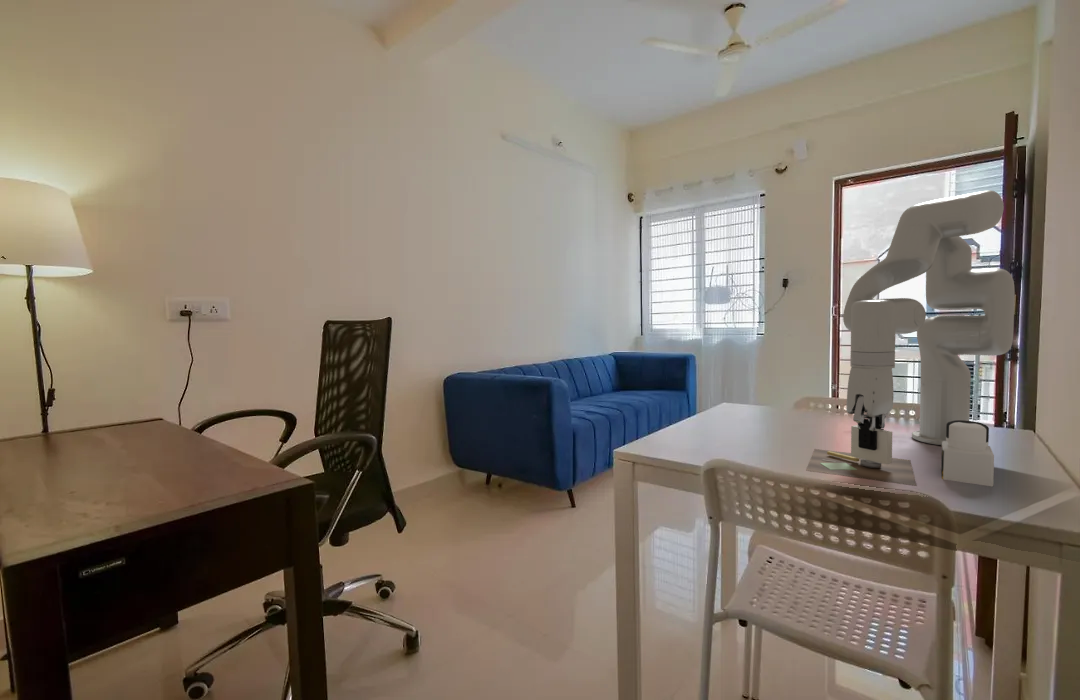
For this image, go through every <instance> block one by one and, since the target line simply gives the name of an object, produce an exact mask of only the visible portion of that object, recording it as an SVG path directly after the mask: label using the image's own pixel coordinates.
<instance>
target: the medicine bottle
mask: <svg viewBox="0 0 1080 700" xmlns="http://www.w3.org/2000/svg"><path fill="white" fill-rule="evenodd" d="M989 438H990V427H989V426H988V425H986V424H984V423H982V422H979V421H973V420H969V421H965V420H955V421H951V422H948V423H947V424H946V441H943V442H942V445H941V454H940V455H941V459H940V461H941V462H940V463H941V464H940V466H941V467H940V471H941V472H940V473H941V479H942V480H945V481H952V482H959V483H967V484H973V485H978V486H979V485H980V486H985V487H993V486H994V473H995V472H994V471H995V454H994V453H993V450H992V448H991V446H990V445H989V444H990V443H989Z"/></svg>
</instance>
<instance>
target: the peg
mask: <svg viewBox="0 0 1080 700" xmlns="http://www.w3.org/2000/svg"><path fill="white" fill-rule="evenodd" d="M850 429H851V430H850V437H851V438H850V445H851V446H850V453H851V456H848V455H844V454H840V453H835V452H831V451H832V450H829V451H828V452H827V454H828V455H832V456H836V457H840V458H844V459H848V460H852V461H856V462H857V461H859V458H862V460H860V464H861V465H863V466H866V467H871V468H880V467H881V463H882V464H886V465H887V464H891V463H892V458H893V431H890V430H886V429H884V430H881V429H882V428H881V429H875V431H877V449H876V450H869V449H864V448H860V447H859V446H858V443H859V429H858V424H856V425H851V428H850ZM852 456H853V457H852ZM856 457H857V458H856Z"/></svg>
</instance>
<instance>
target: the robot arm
mask: <svg viewBox="0 0 1080 700" xmlns="http://www.w3.org/2000/svg"><path fill="white" fill-rule="evenodd" d="M1004 205H1005V204H1004V201H1003V199H1002V196H1001V195H1000V194H999V193H998V192H996V191H994V190H983V191H976V192H970V193H966V194H961V195H960V194H959V195H956V196H949V197H943V198H938V199H933V200H929V201H925V202H921V203H918V204H915V205H912V206H910V207H908V208H906V210H904V211H903V213H902V214H901V216H900V218H899V221H898V222H897V223H898V224H897V226H896V229H895V231H894V234H893V236H892V240H891V243H890V245H889V248H888V251H887V254H886V256H885V257H884V258H883V259H882V260H881V261H879V262H878V263H876V264H875V265H874V266H872V267H871V268H870V269H869V270H867V271H865V273H863V275H862V276H860V277H859V279H857V280H856V281H855V283H853V286H852V288H851V289H850V291H849V294H848V297H847V300H846V302H845V305H844V310H843V314H842V317H843V319H842V321H843V324H844V327H845V328H846V329H847V330H848V331H850V361H849V363H850V370H849V375H848V381H847V390H846V409H845V410H846V412H847V414H850V415H853V417H852V420H853V422H855V423H857V425H858V429H859V443H858V446H859V447H860V448H864V449H869V450H876V449H877V431H875V429H881V430H885V426H886V418H887V416H888V415H889V412H891V411H892V410H893V406H894V379H893V378H894V376H893V369H896V335H907V334H911V333H914V332H916V339H917V344H918V349H919V355H920V356H919V358H920V400H919V430H915V431H913V432H912V433H911V438H913V439H914V440H916V441H919V442H922V443H925V444H930V445H937V446H942V442H943V441H946V424H947V423H948V422H951V421H955V420H965V421H970V411H971V410H970V409H971V406H970V405H971V381H972V379H971V378H972V377H971V376H972V375H971V371H970V369H969V367H968V365H967V364H966V363H965V362H964V361H963V359H961V358H960V357H959V356H960V355H961V356H964V355H965V356H966V355H967V356H968V355H969V356H970V355H971V356H1001V355H1004V354H1006V353H1008V352H1009V351H1010V350H1011V347H1012V345H1013V341H1014V328H1015V327H1014V324H1015V323H1014V322H1015V298H1016V297H1015V296H1016V295H1015V293H1016V292H1015V282H1014V278H1013V276H1012V274H1011V273H1010V271H1007V270H1006V269H1005V268H996V267H993V268H991V267H990V268H980V269H978V268H977V269H973V267H972V263H973V262H972V261H973V260H972V259H973V257H972V254H973V251H972V247H971V246H970V244H968V242H967V241H966V240H965V239H964V238H962V237H963V236H969V235H975V234H979V233H982V232H985V231H988V230H990V229H992V228H995V227H996V225H997V224H998V223H999V222H1001V220H1002V217H1003V213H1004V207H1005V206H1004ZM923 274H925V301H926V303H927V306H928V307H929V308H931V309H933V310H940V311H961V310H963V311H965V310H967V311H968V310H970V311H971V310H981V311H983V313H984V315H983V314H981V315H978V314H977V315H974V314H970V315H964V314H963V315H961V314H960V315H959V314H957V315H953V314H951V315H936V316H930V317H927V313H926V309H925V307H924V306H923V303H921V302H920V301H919V300H917V299H914V298H909V297H901V298H898V297H897V298H875V297H876V296H877V295H879V294H880V293H882V292H883V291H885V290H888V289H889V288H891V287H894V286H896V285H900V284H902V283H904V282H907V281H910V280H912V279H915V278H917V277H919V276H921V275H923ZM874 298H875V299H874ZM865 413H866V414H865Z"/></svg>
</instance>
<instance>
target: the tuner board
mask: <svg viewBox="0 0 1080 700" xmlns="http://www.w3.org/2000/svg"><path fill="white" fill-rule="evenodd" d="M828 451H831V452H835V453H840V454H844V455H848V456H851V452H845V451H837V450H826V449H818V448H814V450H813V452H812V454H811V456H810V460H809V461H808V464H807V467H806V469H805V471H807V472H814V473H821V474H828V475H837V476H840V477H841V476H842V477H850V478H857V479H864V480H871V481H878V482H885V483H886V482H887V483H892V484H898V485H899V484H900V485H908V486H913V487H917V485H918V484H917V483H916V482H917V481H916V477H915V474H914V470H913V469H914V468H913V466H912V461H911V459H908V458H907V459H905V458H897V457H892V463H891V464H887V465H886V464H882V463H881V467H880V468H871V467H866V466H863V465H861V464H860V460H862V458H859V461H857V462H856V461H852V460H848V459H844V458H840V457H836V456H832V455H828V454H827V452H828ZM852 457H853V456H852ZM856 458H857V457H856Z"/></svg>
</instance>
